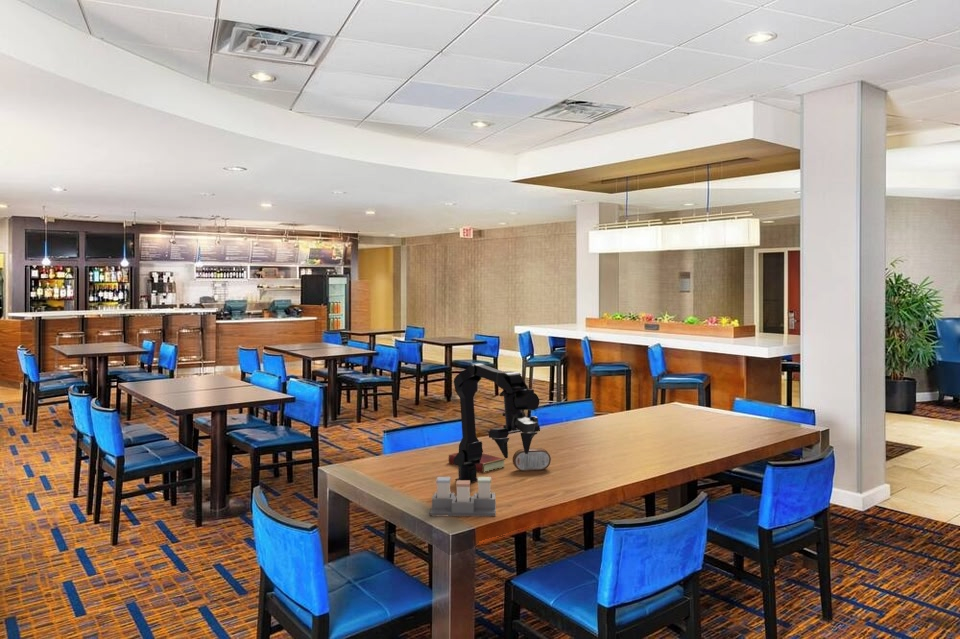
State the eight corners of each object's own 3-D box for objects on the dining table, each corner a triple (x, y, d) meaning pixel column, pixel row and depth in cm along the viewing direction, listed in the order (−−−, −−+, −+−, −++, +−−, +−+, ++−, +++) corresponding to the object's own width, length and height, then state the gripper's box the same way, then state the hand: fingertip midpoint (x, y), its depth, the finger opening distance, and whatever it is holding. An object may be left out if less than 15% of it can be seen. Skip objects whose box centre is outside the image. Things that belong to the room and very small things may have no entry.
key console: (433, 504, 215) (433, 492, 215) (496, 504, 214) (495, 492, 214) (429, 515, 204) (429, 503, 204) (495, 516, 203) (495, 503, 203)
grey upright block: (437, 498, 213) (437, 476, 213) (450, 498, 213) (450, 476, 213) (436, 502, 209) (436, 480, 209) (449, 502, 209) (449, 480, 209)
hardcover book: (483, 474, 253) (483, 463, 253) (448, 464, 269) (448, 453, 269) (505, 468, 261) (505, 457, 261) (470, 458, 277) (470, 449, 277)
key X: (457, 502, 209) (457, 480, 209) (470, 502, 209) (470, 480, 209) (456, 506, 205) (456, 484, 205) (469, 506, 205) (469, 484, 205)
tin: (549, 468, 260) (549, 447, 259) (551, 470, 257) (551, 449, 256) (512, 470, 257) (512, 448, 257) (514, 472, 254) (514, 450, 254)
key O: (478, 498, 213) (478, 476, 213) (491, 498, 213) (491, 476, 213) (477, 502, 209) (477, 480, 209) (490, 502, 209) (490, 480, 208)
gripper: (508, 413, 209) (511, 462, 209) (549, 406, 221) (553, 453, 220) (485, 412, 218) (489, 459, 217) (527, 406, 230) (530, 451, 229)
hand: (516, 456), depth 221 cm, fingers open, 9 cm apart
